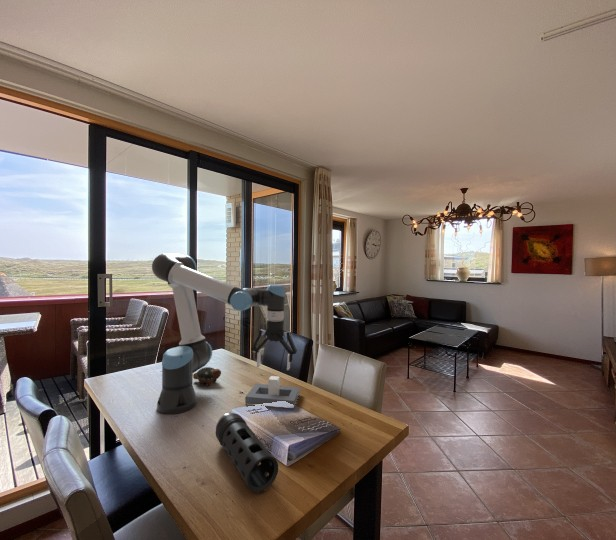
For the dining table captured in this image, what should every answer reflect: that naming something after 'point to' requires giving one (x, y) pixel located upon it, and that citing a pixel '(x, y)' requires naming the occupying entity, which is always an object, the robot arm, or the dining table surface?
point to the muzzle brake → (246, 452)
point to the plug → (273, 385)
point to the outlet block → (261, 395)
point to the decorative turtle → (207, 375)
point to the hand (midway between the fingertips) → (273, 367)
